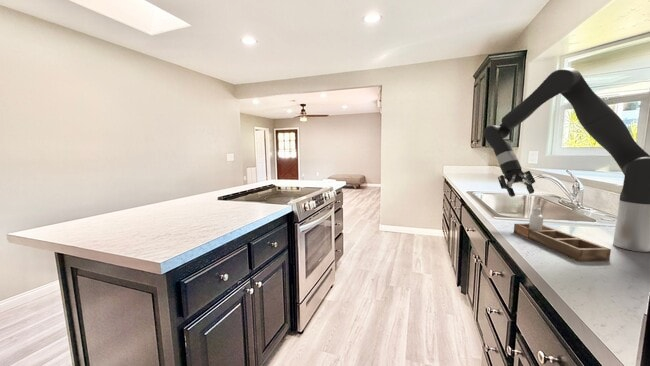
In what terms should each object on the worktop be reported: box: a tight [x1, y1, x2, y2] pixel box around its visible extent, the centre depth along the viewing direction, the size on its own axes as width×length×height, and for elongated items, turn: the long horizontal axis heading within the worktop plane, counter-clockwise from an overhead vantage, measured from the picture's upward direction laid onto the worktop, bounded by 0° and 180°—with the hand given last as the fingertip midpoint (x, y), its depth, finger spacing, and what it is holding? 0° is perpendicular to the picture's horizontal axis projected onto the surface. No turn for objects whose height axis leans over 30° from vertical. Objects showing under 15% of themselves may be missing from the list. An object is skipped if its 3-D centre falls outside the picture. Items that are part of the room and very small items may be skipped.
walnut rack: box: [513, 222, 612, 262], centre depth 99 cm, size 11×29×4 cm, turn 1°
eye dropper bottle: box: [529, 204, 544, 230], centre depth 107 cm, size 4×6×12 cm
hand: (522, 194), depth 117 cm, fingers open, 8 cm apart
